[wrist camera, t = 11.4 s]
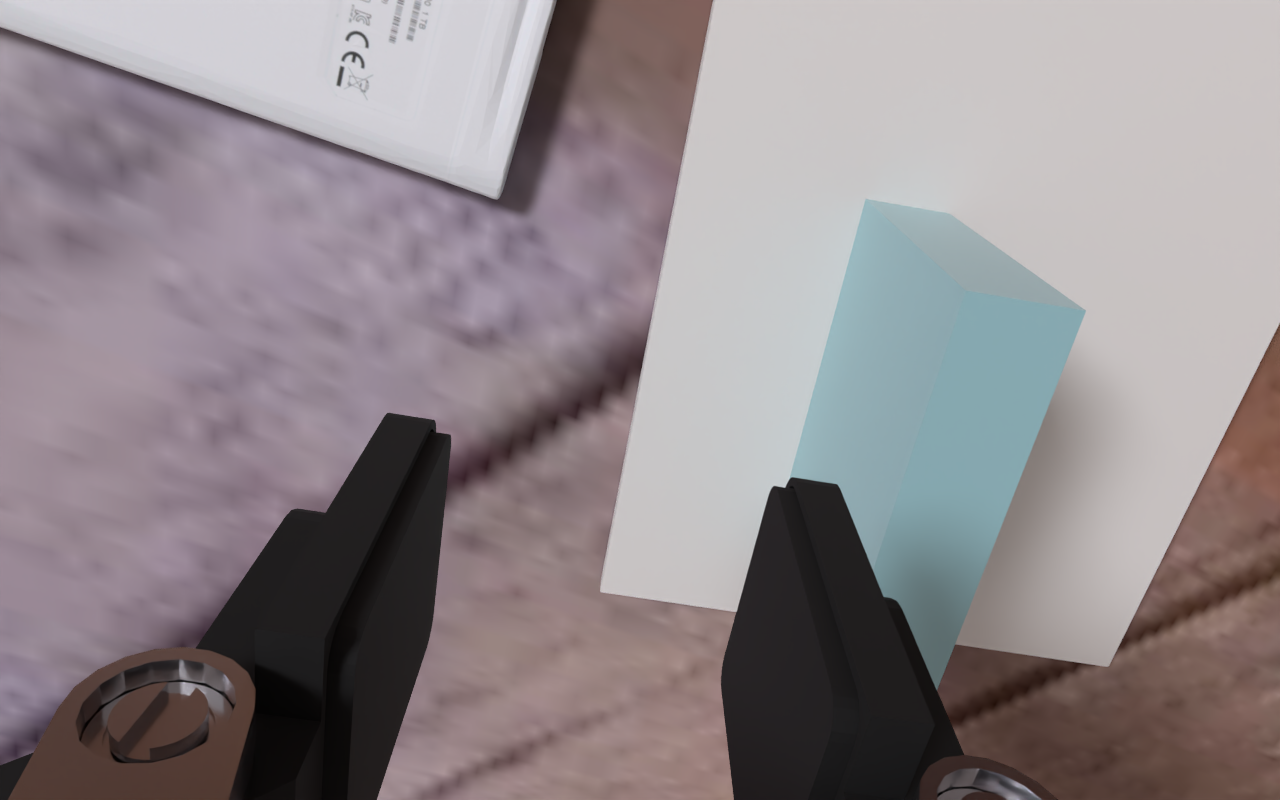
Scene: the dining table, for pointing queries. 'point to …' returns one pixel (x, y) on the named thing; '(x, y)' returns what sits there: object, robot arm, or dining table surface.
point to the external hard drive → (332, 67)
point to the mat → (1006, 217)
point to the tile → (932, 405)
